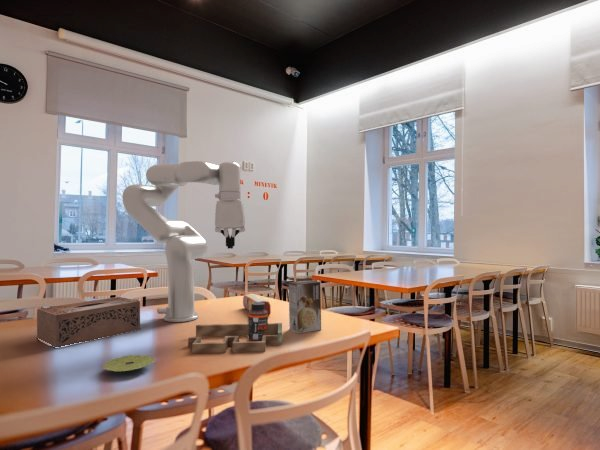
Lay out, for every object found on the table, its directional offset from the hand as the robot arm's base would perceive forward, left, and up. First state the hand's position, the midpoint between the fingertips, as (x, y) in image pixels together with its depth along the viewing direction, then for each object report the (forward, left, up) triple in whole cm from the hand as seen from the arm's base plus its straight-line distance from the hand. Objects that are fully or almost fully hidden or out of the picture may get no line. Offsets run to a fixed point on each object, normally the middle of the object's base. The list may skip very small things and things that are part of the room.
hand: (230, 248), depth 137 cm
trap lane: (+5, -23, -27) cm, 36 cm away
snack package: (+8, +18, -28) cm, 34 cm away
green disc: (-19, -43, -27) cm, 54 cm away
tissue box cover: (-44, -10, -28) cm, 53 cm away
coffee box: (+26, -10, -27) cm, 39 cm away
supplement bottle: (+11, -21, -27) cm, 36 cm away
